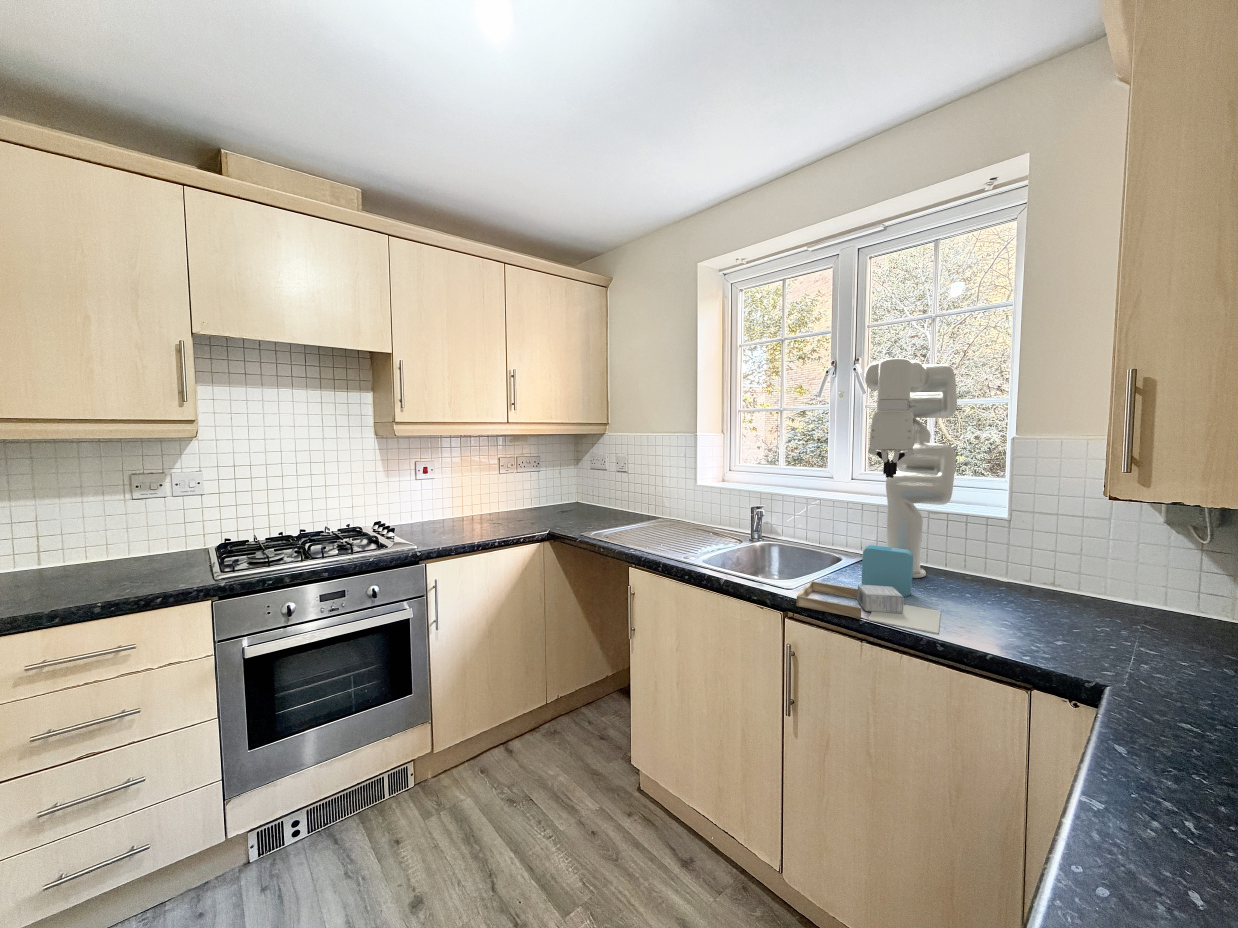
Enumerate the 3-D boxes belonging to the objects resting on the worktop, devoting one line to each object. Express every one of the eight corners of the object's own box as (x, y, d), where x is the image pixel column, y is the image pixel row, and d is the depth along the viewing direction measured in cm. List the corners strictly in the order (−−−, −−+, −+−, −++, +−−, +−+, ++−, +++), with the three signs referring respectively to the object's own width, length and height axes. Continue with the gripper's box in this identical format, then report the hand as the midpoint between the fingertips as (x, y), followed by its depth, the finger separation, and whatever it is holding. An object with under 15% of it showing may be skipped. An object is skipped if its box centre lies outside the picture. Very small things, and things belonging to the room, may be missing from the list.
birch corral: (810, 589, 143) (811, 580, 143) (869, 600, 135) (870, 590, 135) (796, 605, 131) (796, 596, 131) (860, 618, 123) (861, 608, 122)
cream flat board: (877, 600, 135) (877, 599, 135) (940, 611, 127) (940, 610, 127) (868, 620, 121) (868, 619, 121) (938, 634, 114) (938, 632, 114)
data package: (911, 593, 141) (913, 550, 140) (910, 598, 137) (912, 553, 136) (863, 585, 148) (865, 544, 147) (861, 589, 144) (862, 547, 143)
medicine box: (864, 611, 126) (903, 614, 125) (865, 593, 126) (904, 596, 124) (856, 600, 134) (893, 603, 132) (857, 583, 134) (894, 586, 132)
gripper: (927, 407, 133) (923, 477, 135) (863, 407, 141) (860, 474, 143) (925, 406, 127) (921, 480, 128) (859, 407, 135) (856, 476, 137)
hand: (889, 477), depth 136 cm, fingers closed
